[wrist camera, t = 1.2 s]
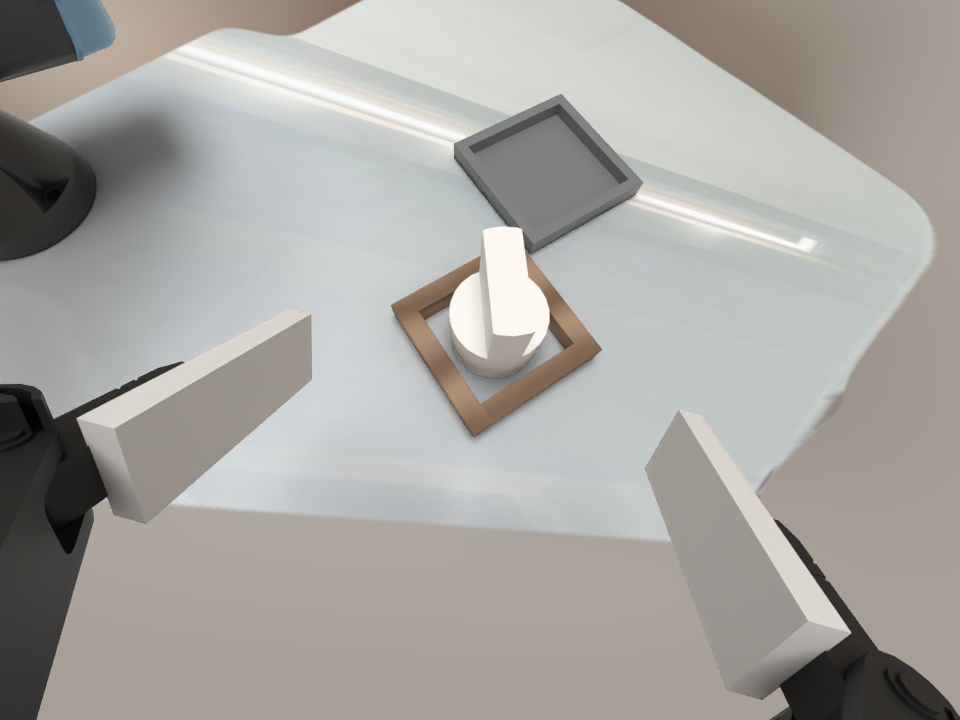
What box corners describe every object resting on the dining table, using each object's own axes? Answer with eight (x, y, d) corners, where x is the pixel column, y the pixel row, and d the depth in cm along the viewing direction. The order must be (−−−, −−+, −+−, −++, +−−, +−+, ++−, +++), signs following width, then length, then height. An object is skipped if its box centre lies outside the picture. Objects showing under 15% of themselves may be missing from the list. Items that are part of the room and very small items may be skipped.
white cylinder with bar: (448, 299, 39) (443, 228, 27) (530, 295, 39) (559, 224, 28) (453, 381, 36) (450, 340, 25) (541, 375, 37) (578, 332, 25)
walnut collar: (395, 315, 38) (390, 305, 35) (511, 250, 41) (514, 237, 38) (473, 437, 35) (473, 434, 32) (593, 357, 38) (602, 349, 35)
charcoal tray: (454, 157, 44) (454, 143, 42) (557, 109, 48) (561, 93, 46) (529, 254, 41) (533, 244, 39) (635, 194, 44) (643, 182, 42)
